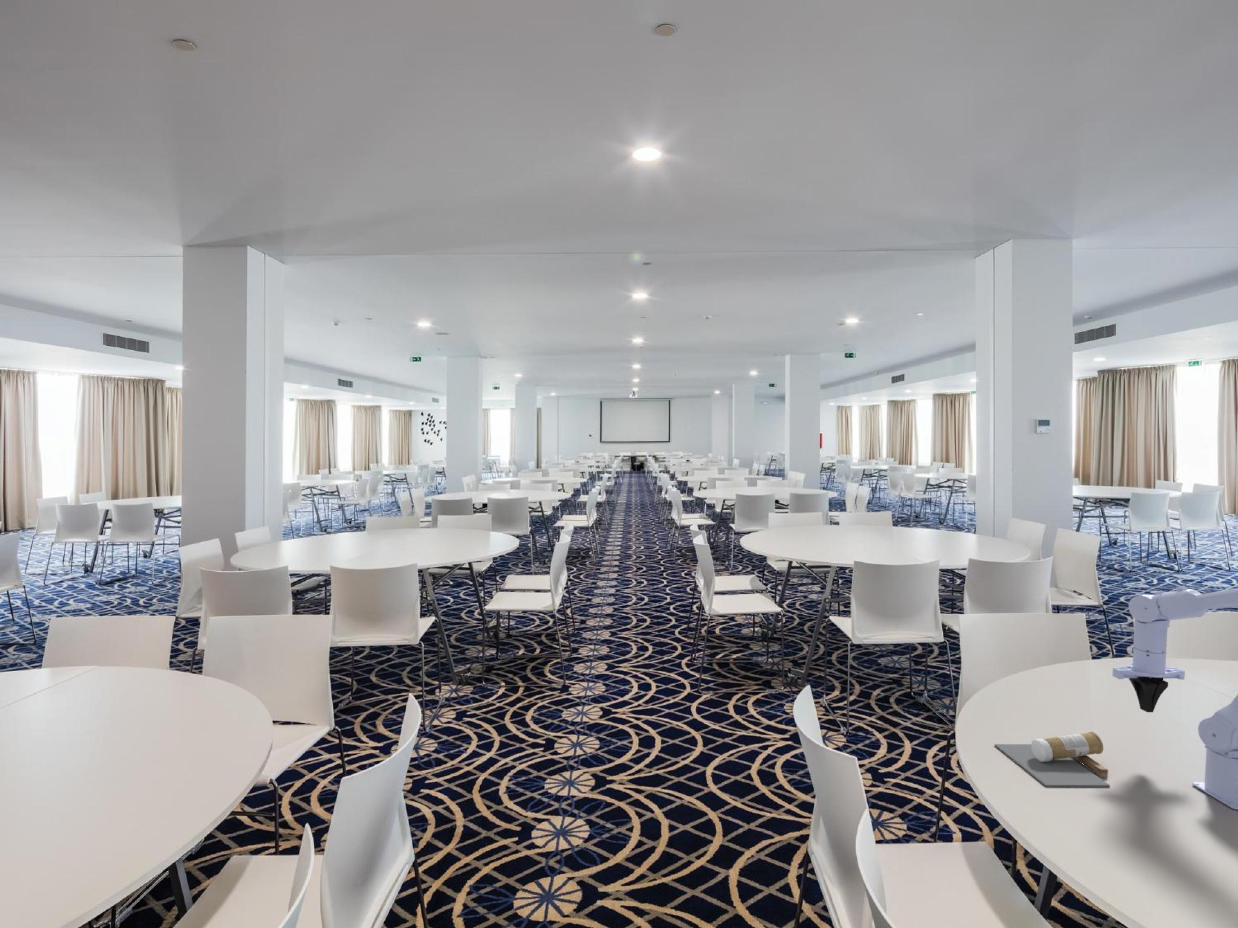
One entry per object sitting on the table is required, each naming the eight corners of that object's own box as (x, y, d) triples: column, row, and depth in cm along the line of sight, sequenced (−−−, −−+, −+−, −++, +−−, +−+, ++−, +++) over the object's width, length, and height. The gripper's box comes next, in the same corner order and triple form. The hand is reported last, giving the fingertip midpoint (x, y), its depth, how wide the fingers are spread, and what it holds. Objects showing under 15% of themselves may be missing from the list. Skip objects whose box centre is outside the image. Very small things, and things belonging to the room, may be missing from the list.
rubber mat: (1109, 786, 137) (1109, 784, 137) (1045, 786, 137) (1045, 784, 137) (1051, 746, 155) (1051, 744, 155) (994, 745, 155) (994, 743, 155)
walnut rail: (1107, 776, 141) (1107, 769, 141) (1100, 776, 141) (1100, 769, 141) (1074, 754, 151) (1074, 747, 151) (1067, 754, 151) (1068, 747, 151)
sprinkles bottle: (1097, 756, 148) (1038, 765, 147) (1085, 735, 151) (1027, 743, 150) (1108, 749, 145) (1047, 758, 144) (1095, 727, 148) (1036, 736, 147)
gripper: (1167, 643, 154) (1164, 703, 154) (1103, 643, 154) (1100, 702, 154) (1194, 654, 147) (1190, 716, 147) (1127, 653, 146) (1124, 715, 147)
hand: (1146, 710), depth 150 cm, fingers closed
